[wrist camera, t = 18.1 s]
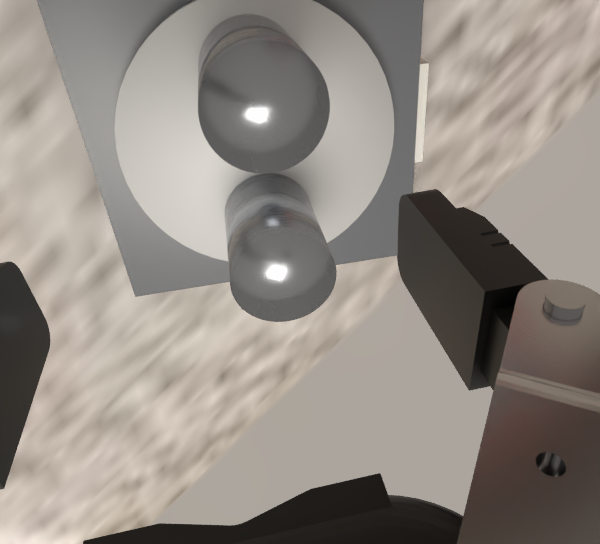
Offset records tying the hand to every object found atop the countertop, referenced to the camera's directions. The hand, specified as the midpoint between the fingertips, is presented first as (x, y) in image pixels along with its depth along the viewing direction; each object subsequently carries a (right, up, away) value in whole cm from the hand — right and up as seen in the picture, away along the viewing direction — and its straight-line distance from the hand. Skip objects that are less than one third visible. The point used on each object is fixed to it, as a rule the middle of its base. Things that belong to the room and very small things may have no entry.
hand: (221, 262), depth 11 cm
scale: (-1, +8, +17) cm, 19 cm away
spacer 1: (0, +8, +11) cm, 14 cm away
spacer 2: (0, +3, +15) cm, 15 cm away
